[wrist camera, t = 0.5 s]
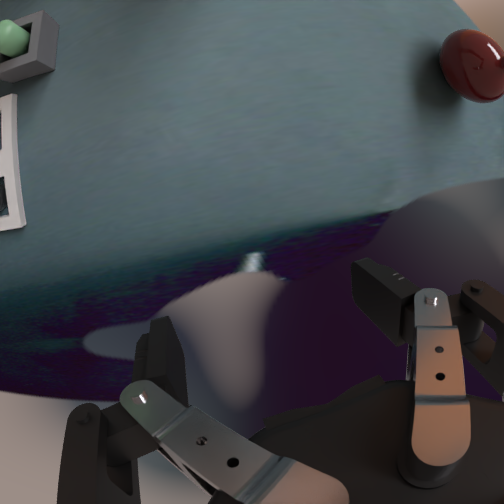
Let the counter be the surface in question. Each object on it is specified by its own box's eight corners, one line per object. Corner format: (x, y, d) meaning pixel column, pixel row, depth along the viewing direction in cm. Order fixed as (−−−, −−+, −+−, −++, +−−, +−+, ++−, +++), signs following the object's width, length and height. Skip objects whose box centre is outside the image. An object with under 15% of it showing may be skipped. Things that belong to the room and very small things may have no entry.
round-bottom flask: (447, 28, 36) (530, 13, 17) (477, 87, 41) (559, 90, 22) (412, 47, 36) (508, 28, 18) (446, 114, 41) (541, 122, 23)
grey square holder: (17, 38, 24) (-3, 27, 18) (59, 24, 25) (43, 9, 20) (12, 83, 26) (-10, 76, 21) (54, 69, 28) (36, 60, 22)
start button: (12, 38, 21) (-10, 26, 15) (35, 29, 22) (15, 15, 16) (9, 62, 22) (-15, 53, 17) (32, 54, 23) (10, 42, 17)
